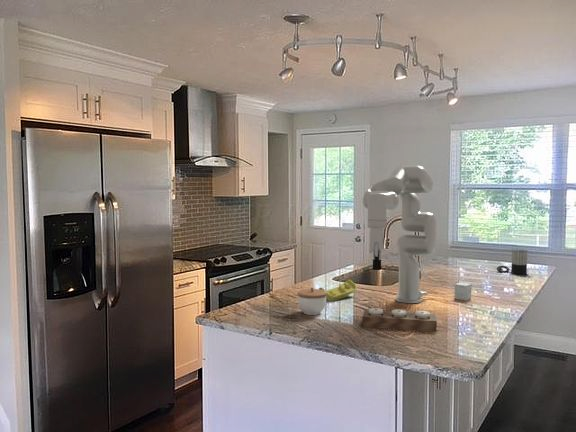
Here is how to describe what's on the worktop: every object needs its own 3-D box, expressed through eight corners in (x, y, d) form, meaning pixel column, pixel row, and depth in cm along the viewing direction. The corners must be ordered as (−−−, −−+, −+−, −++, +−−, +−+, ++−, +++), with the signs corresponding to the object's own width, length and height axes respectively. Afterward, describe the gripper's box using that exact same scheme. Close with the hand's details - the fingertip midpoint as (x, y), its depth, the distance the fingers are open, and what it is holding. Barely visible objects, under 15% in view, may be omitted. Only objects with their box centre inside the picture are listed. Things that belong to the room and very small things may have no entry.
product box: (453, 298, 236) (454, 283, 236) (459, 296, 241) (459, 282, 240) (466, 300, 232) (466, 285, 232) (471, 298, 237) (471, 283, 236)
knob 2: (401, 321, 196) (401, 308, 196) (409, 325, 191) (409, 311, 191) (389, 322, 194) (389, 309, 194) (396, 326, 189) (397, 313, 189)
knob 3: (424, 323, 194) (424, 309, 194) (432, 326, 189) (433, 313, 188) (412, 324, 192) (412, 311, 192) (420, 328, 187) (421, 314, 187)
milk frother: (530, 275, 296) (530, 251, 295) (503, 275, 296) (504, 251, 295) (519, 271, 310) (520, 248, 309) (494, 271, 310) (495, 248, 309)
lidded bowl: (317, 318, 202) (318, 292, 202) (292, 314, 209) (292, 288, 208) (331, 311, 213) (331, 286, 212) (306, 307, 220) (306, 283, 219)
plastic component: (331, 297, 230) (318, 285, 236) (327, 309, 233) (314, 297, 239) (360, 288, 242) (347, 277, 248) (356, 300, 245) (343, 288, 252)
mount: (362, 326, 191) (362, 316, 191) (364, 319, 201) (364, 309, 200) (436, 331, 184) (436, 321, 184) (434, 324, 194) (435, 314, 194)
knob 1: (378, 320, 198) (378, 307, 198) (385, 323, 193) (385, 310, 193) (366, 321, 196) (366, 308, 196) (373, 325, 191) (373, 311, 191)
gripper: (368, 221, 200) (368, 265, 202) (366, 225, 186) (365, 273, 187) (387, 222, 198) (387, 266, 200) (386, 226, 184) (385, 273, 185)
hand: (376, 269), depth 194 cm, fingers closed
